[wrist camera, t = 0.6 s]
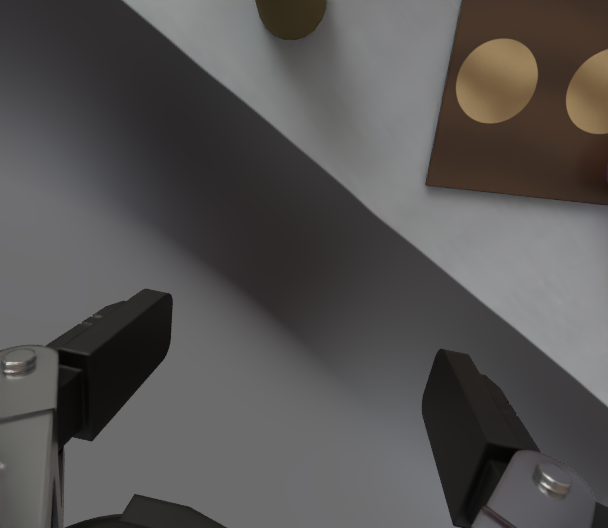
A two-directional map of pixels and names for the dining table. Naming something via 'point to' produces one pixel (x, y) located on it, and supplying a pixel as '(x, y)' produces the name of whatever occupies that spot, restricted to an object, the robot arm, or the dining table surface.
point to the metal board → (526, 101)
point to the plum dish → (607, 173)
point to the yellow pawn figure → (291, 16)
